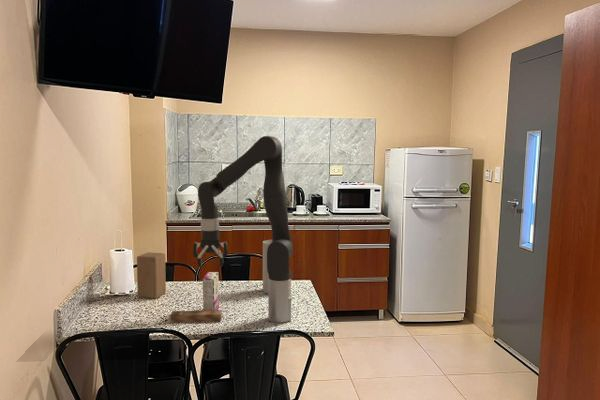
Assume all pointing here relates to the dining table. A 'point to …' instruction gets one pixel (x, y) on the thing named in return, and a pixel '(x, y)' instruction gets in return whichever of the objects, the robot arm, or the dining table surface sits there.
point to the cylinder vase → (265, 266)
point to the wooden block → (151, 275)
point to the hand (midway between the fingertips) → (210, 266)
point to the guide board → (196, 316)
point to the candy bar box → (211, 292)
